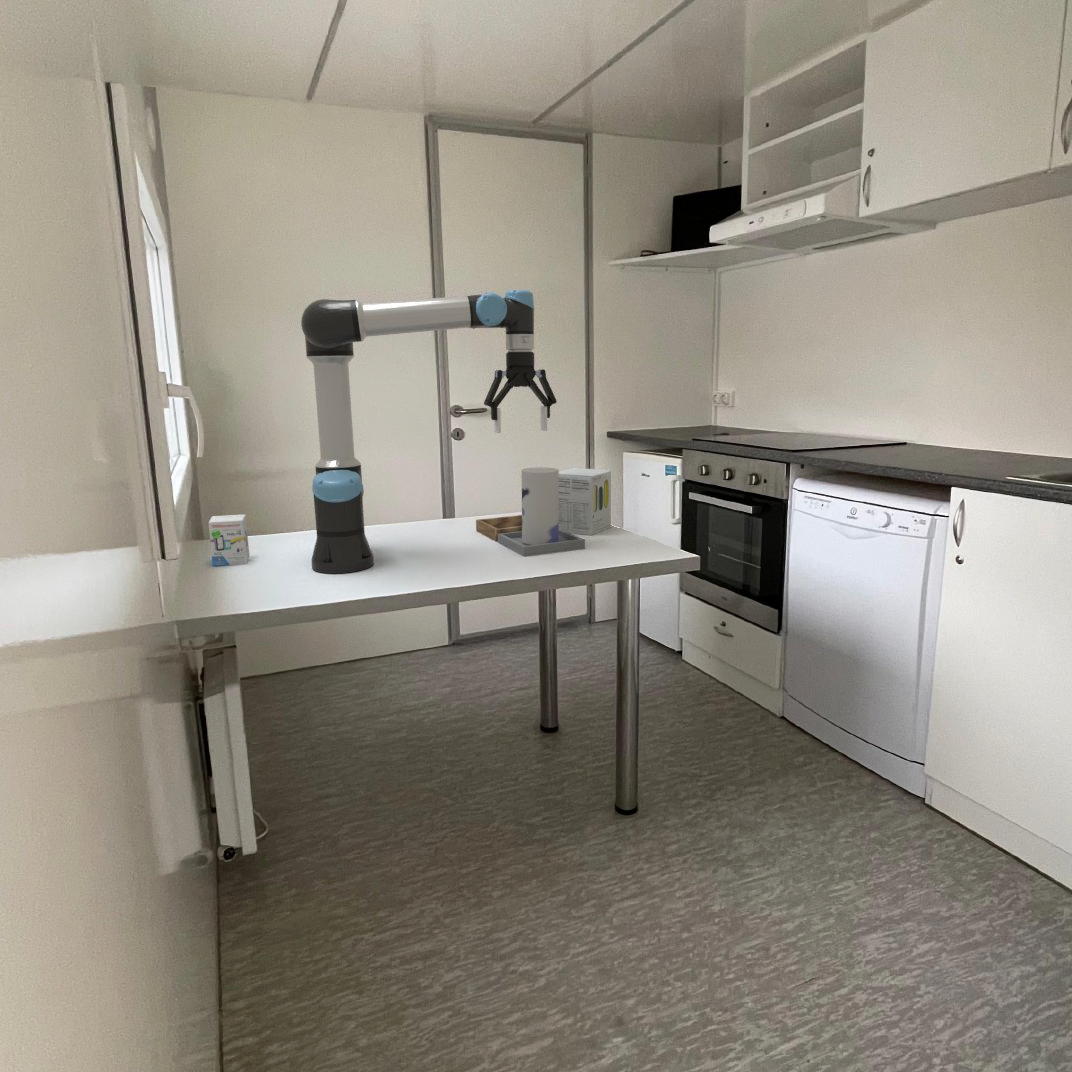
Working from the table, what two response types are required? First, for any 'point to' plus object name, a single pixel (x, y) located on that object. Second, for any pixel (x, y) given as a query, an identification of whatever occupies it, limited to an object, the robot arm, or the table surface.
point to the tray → (564, 544)
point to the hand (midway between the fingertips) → (521, 431)
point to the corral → (499, 526)
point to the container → (540, 505)
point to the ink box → (228, 540)
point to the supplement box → (584, 500)
